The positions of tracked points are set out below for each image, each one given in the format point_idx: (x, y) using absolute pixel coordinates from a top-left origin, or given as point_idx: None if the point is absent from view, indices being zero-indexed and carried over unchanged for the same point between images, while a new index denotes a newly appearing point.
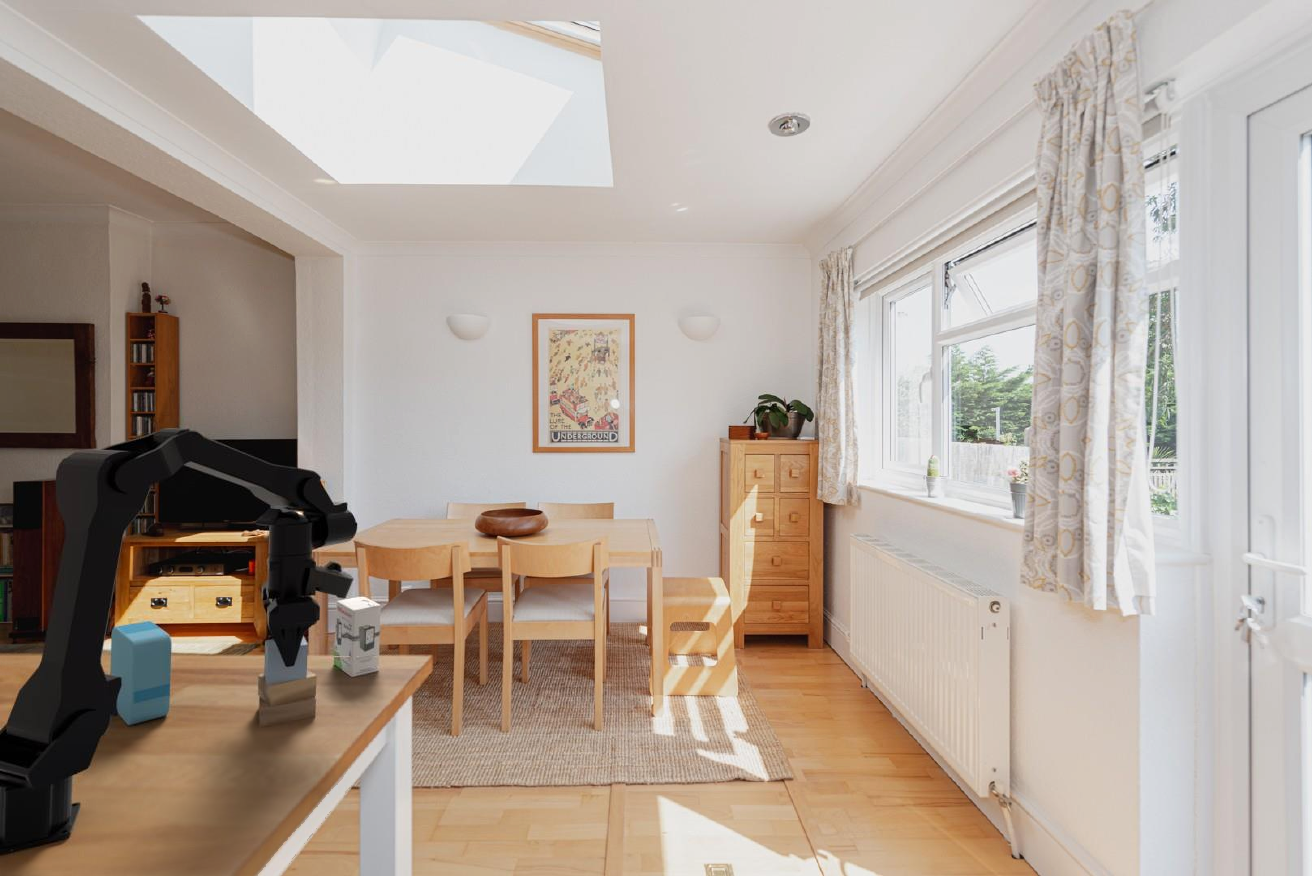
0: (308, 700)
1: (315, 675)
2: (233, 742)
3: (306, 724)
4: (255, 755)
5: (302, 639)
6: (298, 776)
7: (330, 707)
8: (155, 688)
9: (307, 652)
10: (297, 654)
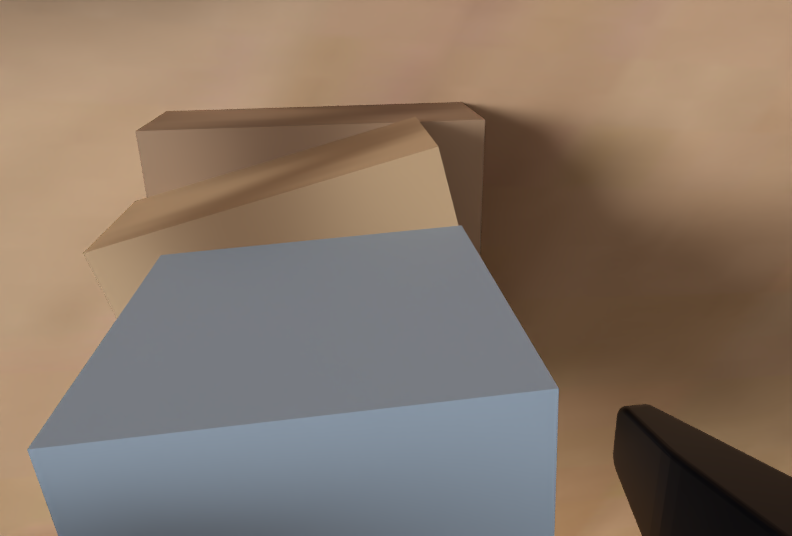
0: (480, 166)
1: (429, 155)
2: (565, 433)
3: (545, 152)
4: (745, 352)
5: (266, 452)
6: None
7: (361, 4)
8: None
9: (523, 330)
10: (756, 460)
